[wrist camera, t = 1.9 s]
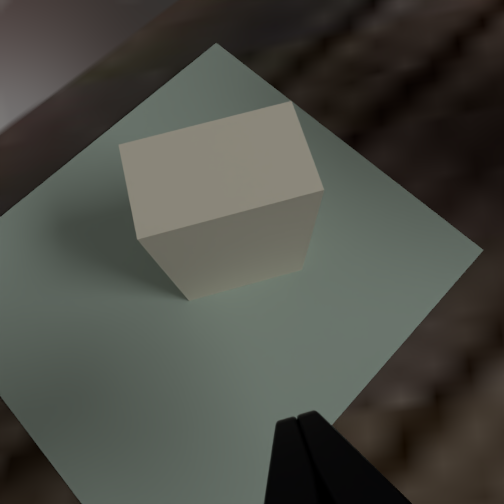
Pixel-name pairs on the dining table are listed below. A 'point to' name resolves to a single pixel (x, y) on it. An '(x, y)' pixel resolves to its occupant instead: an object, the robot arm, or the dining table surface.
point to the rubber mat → (202, 313)
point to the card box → (225, 199)
